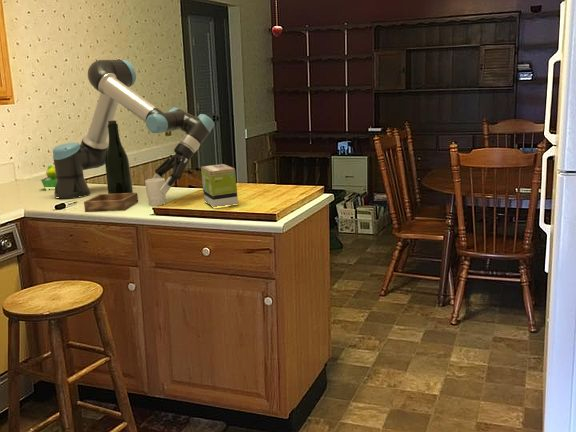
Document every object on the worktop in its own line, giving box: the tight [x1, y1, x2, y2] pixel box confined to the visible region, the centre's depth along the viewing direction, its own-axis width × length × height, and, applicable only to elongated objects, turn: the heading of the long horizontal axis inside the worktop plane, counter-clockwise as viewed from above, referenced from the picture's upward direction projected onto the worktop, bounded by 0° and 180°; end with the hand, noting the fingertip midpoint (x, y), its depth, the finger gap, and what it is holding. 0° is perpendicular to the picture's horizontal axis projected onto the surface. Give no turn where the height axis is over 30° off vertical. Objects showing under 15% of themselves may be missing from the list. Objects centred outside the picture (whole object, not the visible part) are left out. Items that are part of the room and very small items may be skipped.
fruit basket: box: [40, 165, 57, 188], centre depth 308 cm, size 11×9×11 cm
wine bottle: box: [104, 120, 134, 194], centre depth 272 cm, size 10×10×33 cm
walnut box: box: [83, 192, 139, 213], centre depth 252 cm, size 16×16×4 cm
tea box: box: [200, 163, 239, 207], centre depth 243 cm, size 15×10×15 cm, turn 22°
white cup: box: [144, 177, 167, 207], centre depth 251 cm, size 8×8×10 cm
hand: (155, 190), depth 251 cm, fingers open, 13 cm apart
